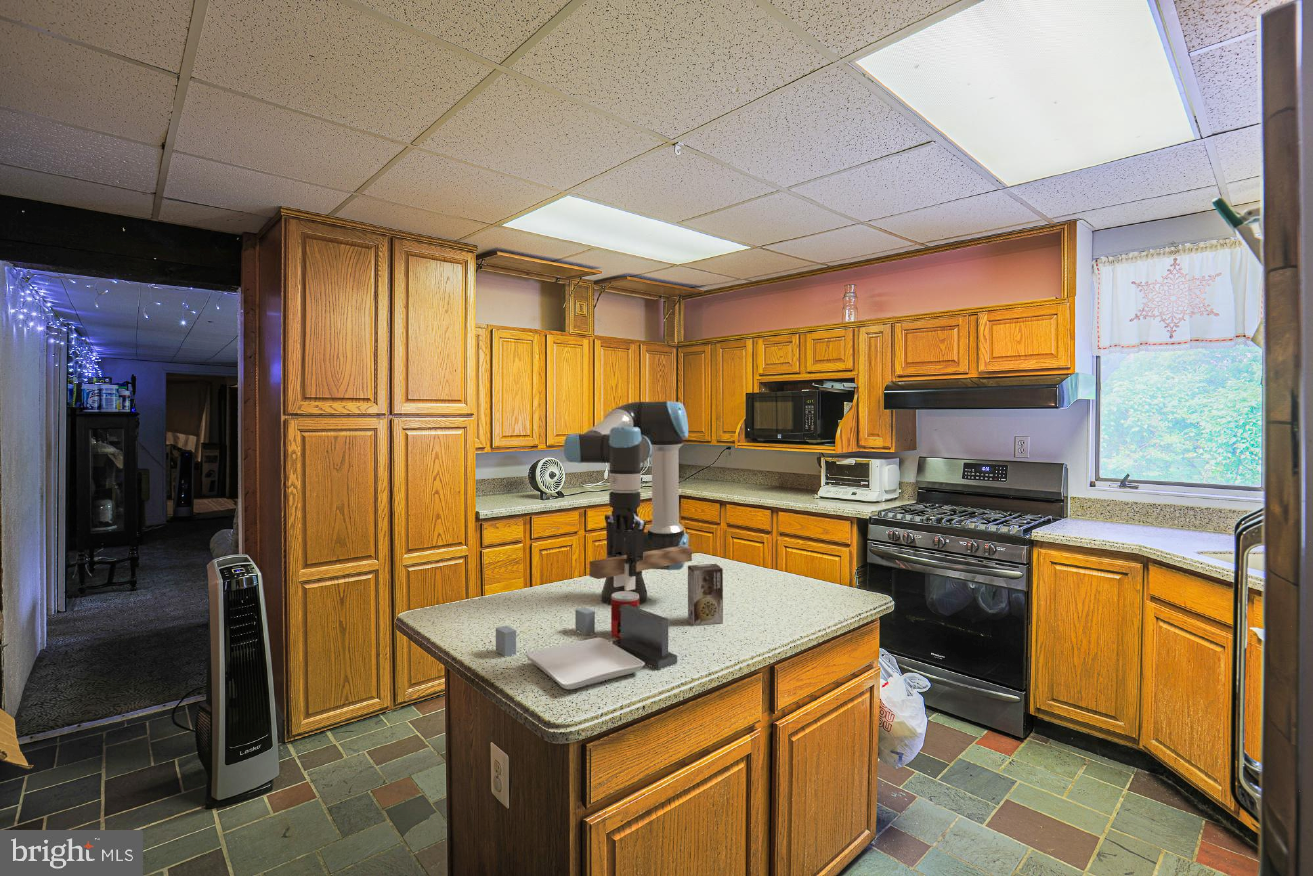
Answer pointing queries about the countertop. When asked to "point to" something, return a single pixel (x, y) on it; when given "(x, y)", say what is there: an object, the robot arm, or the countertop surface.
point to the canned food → (616, 603)
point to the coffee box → (705, 594)
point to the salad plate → (584, 662)
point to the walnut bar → (649, 561)
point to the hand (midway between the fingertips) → (624, 587)
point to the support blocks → (508, 634)
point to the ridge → (645, 637)
